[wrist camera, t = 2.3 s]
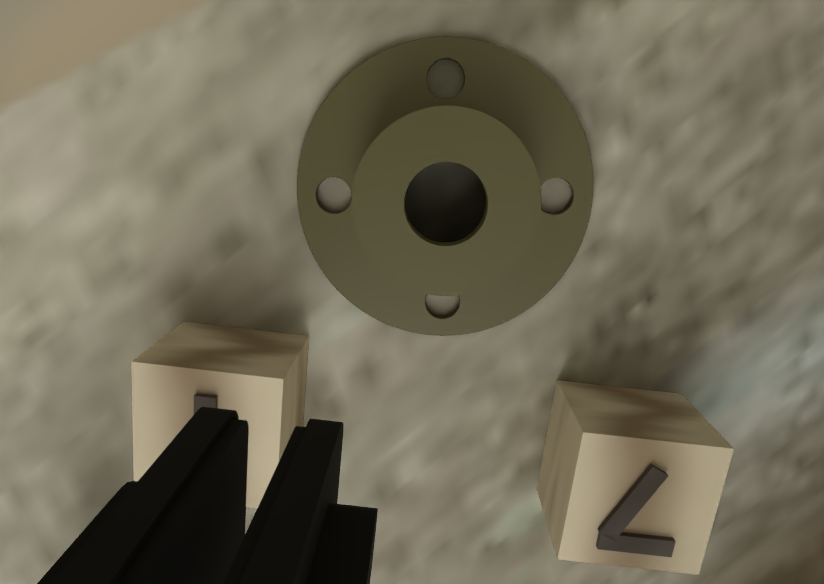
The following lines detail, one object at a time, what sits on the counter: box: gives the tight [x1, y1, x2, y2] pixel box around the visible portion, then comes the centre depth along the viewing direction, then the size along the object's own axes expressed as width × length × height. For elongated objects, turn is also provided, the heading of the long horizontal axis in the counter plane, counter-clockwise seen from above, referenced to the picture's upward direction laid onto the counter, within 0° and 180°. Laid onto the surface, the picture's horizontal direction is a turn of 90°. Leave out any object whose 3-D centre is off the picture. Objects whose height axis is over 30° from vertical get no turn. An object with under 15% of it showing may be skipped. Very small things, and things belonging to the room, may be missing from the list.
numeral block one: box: [132, 322, 309, 508], centre depth 30 cm, size 7×7×6 cm
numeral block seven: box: [537, 380, 734, 575], centre depth 31 cm, size 7×7×6 cm
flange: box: [297, 37, 593, 336], centre depth 28 cm, size 5×15×15 cm
